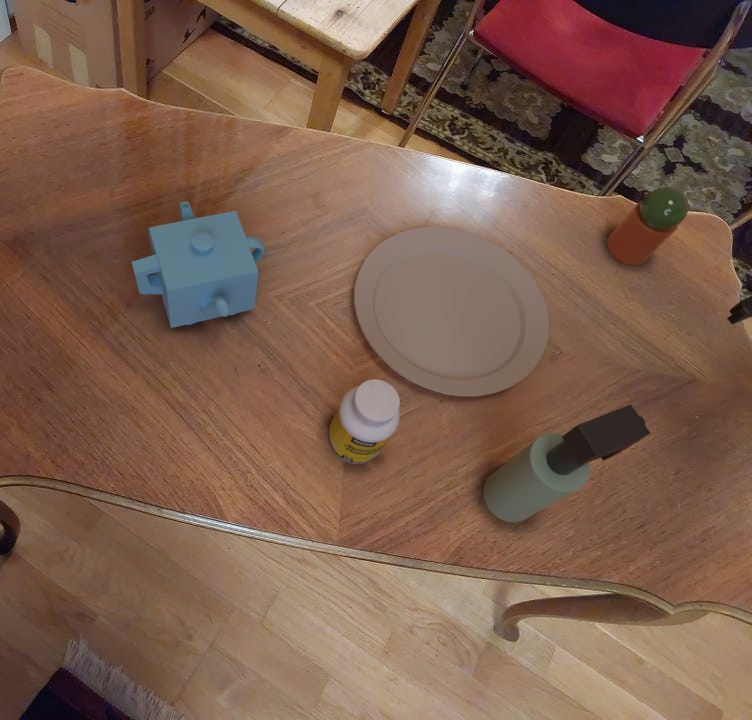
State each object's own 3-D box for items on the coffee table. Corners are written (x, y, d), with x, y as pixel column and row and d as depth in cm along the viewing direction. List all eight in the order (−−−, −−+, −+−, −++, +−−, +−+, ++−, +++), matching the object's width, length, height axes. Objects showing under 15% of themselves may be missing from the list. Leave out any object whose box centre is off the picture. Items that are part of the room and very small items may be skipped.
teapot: (241, 232, 89) (245, 173, 79) (282, 344, 82) (293, 294, 72) (126, 255, 86) (115, 197, 76) (158, 374, 78) (150, 327, 68)
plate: (382, 417, 78) (386, 411, 76) (330, 246, 89) (332, 237, 88) (573, 385, 83) (581, 378, 81) (501, 225, 94) (506, 216, 92)
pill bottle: (323, 460, 75) (342, 422, 65) (330, 409, 78) (349, 365, 68) (379, 470, 75) (406, 435, 65) (383, 419, 78) (410, 377, 68)
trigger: (597, 434, 67) (625, 415, 63) (612, 457, 66) (641, 440, 62) (588, 438, 67) (615, 419, 63) (602, 461, 66) (631, 444, 62)
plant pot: (643, 234, 95) (694, 179, 85) (651, 267, 92) (705, 215, 82) (603, 229, 95) (649, 174, 85) (610, 262, 92) (658, 210, 82)
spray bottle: (534, 457, 78) (630, 386, 60) (561, 504, 75) (670, 444, 57) (473, 481, 76) (554, 415, 58) (499, 530, 73) (592, 477, 55)
